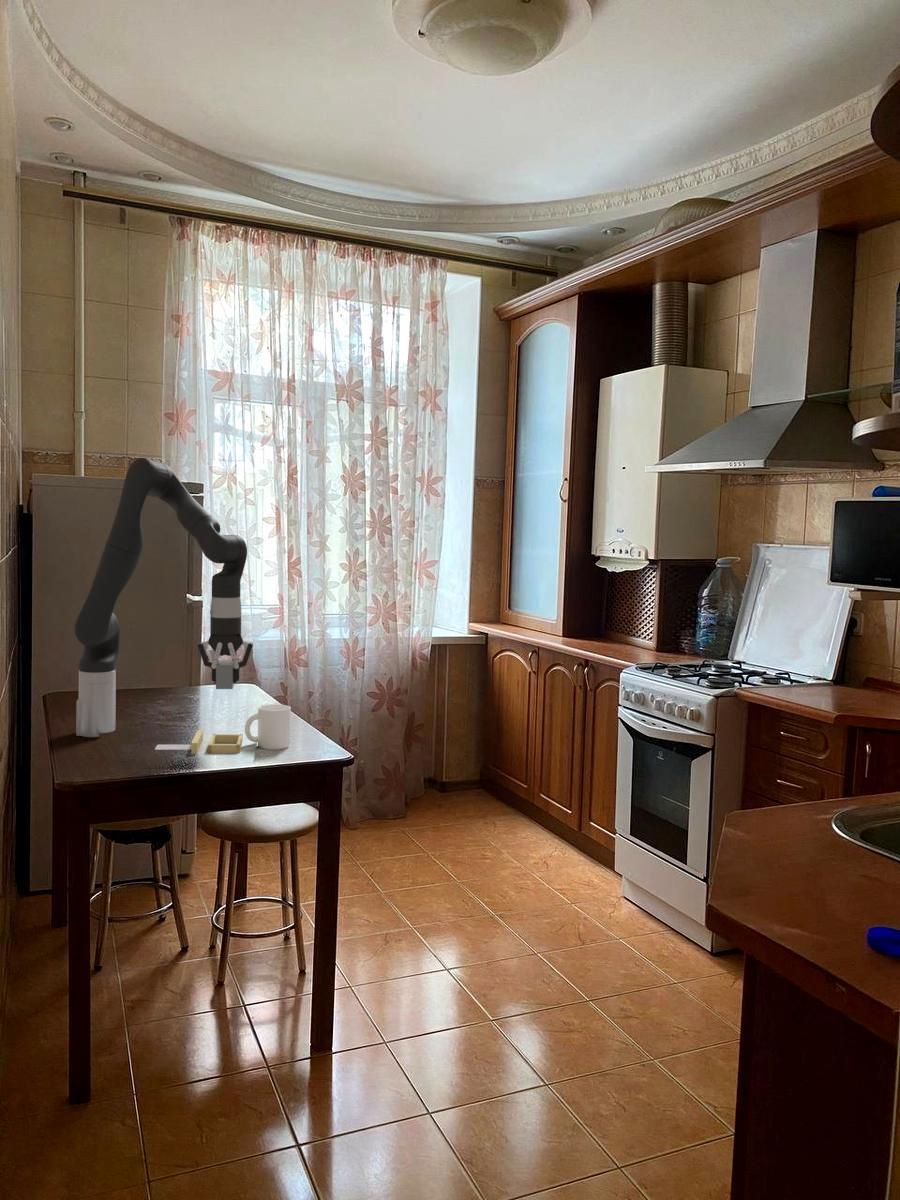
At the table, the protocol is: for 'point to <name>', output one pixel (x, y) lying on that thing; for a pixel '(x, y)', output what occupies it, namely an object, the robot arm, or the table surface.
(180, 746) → the white fixture board
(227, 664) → the block
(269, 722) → the mug
